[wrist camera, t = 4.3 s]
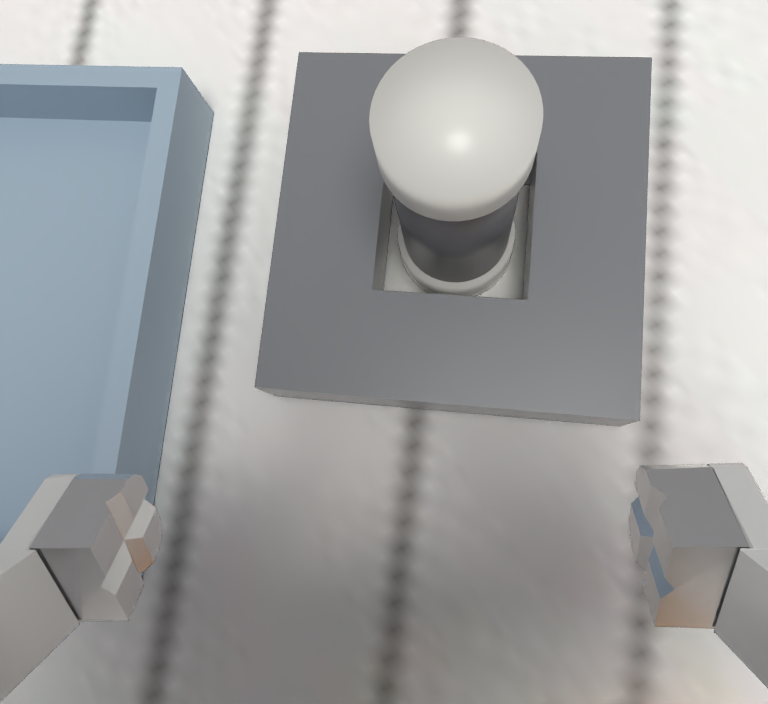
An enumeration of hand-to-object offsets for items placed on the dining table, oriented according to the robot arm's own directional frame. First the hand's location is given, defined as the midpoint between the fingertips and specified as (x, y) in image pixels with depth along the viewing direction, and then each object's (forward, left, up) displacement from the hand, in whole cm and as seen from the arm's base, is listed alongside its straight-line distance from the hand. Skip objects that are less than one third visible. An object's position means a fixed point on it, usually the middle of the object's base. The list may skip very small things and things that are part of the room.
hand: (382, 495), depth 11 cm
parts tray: (+5, +17, -12) cm, 21 cm away
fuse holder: (+9, 0, -12) cm, 15 cm away
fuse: (+9, 0, -12) cm, 15 cm away
